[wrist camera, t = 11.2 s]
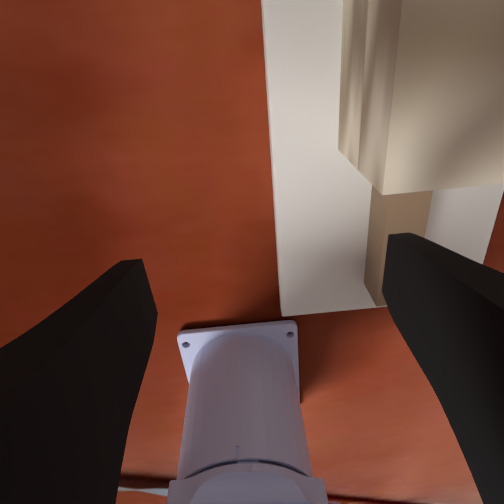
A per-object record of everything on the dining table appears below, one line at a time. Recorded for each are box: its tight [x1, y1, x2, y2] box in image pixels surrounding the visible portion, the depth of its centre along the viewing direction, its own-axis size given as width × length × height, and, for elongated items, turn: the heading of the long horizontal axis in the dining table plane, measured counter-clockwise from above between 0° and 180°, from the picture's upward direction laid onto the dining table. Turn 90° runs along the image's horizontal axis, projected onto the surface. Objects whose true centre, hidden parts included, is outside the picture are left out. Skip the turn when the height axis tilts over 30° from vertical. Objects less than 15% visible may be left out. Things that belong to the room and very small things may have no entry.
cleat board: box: [261, 0, 504, 317], centre depth 16 cm, size 20×12×5 cm, turn 5°
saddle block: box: [338, 0, 504, 195], centre depth 13 cm, size 8×6×6 cm
